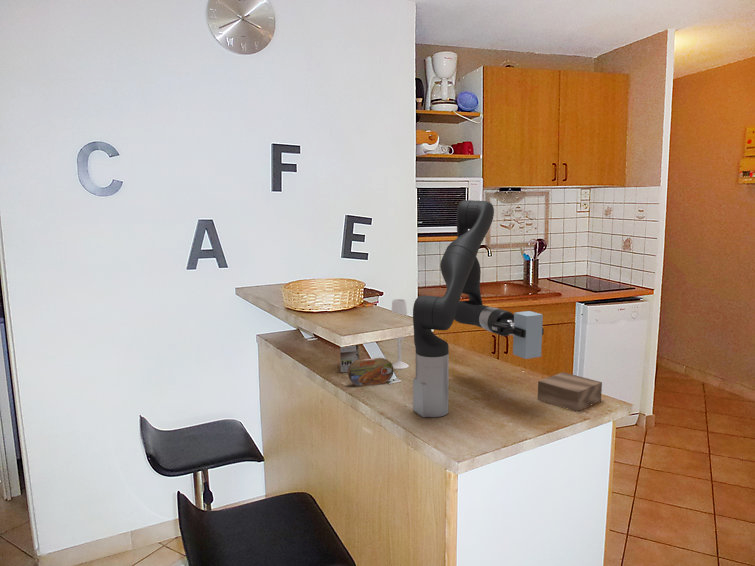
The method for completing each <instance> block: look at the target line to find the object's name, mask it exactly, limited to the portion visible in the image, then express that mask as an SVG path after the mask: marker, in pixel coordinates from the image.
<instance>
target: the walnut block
mask: <svg viewBox="0 0 755 566" xmlns="http://www.w3.org/2000/svg"><path fill="white" fill-rule="evenodd" d="M602 388H603V382H601V381H599V380H595V379H590V378H588V377H583V376H579V375H574V374H571V373H569V372H568V373H567V372H563V371H562V372H559V373H557V374H555V375H551V376H548V377H546V378H543V379H540V380H538V383H537V401H541V402H545V403H548V404H550V403H551V405H553V404H554V406H558V407H560V406H561V407H560V408H563V407H564V409H566V408H568V409H567V410H570V409H571V411H573V410H574V412H576V411H578V412H580V411H582V410H584V409H586V408H588V406H589V407H591V406H592V405H591V404H593V405H595V404H597V403H599V402H601V401H602V393H603V392H602V391H603V389H602ZM596 402H597V403H596ZM594 403H595V404H594ZM590 405H591V406H590ZM585 407H586V408H585ZM583 408H584V409H583ZM581 409H582V410H581ZM579 410H580V411H579Z"/></svg>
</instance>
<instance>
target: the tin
mask: <svg viewBox="0 0 755 566" xmlns="http://www.w3.org/2000/svg"><path fill="white" fill-rule="evenodd" d="M392 364H393V363H391V361H390V360H389V359H386V358H384V357H373V358H365V359H359V360H357V361H354V362H353V363H352V364H351V365H350V366H349V368H348V372H347V376H348V379H349V381H350V383H352V384H353V385H354V386H357V387H365V386H374V385H383V384H386V383H388V382H389V381H390V380H391V379H392V377H393V375H394V368H393V366H392Z"/></svg>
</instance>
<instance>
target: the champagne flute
mask: <svg viewBox="0 0 755 566" xmlns="http://www.w3.org/2000/svg"><path fill="white" fill-rule="evenodd" d="M391 311H392V313H393V312H394V314H395V312H396V314H397V313H398V314H402V315H406V316H407V317H408V311H407V301H406V299H403V298H398V299H397V298H395V299H392V301H391ZM404 338H405V337H401V338H395V340H397V361H394V362H393V363H391V364H392V366H393V369H396V370H399V369H401V370H403V369H407V368H409V366H410V365H409V364H407V363H406V362H404V361H403V360H402V340H403V339H404Z"/></svg>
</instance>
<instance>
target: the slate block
mask: <svg viewBox="0 0 755 566" xmlns="http://www.w3.org/2000/svg"><path fill="white" fill-rule="evenodd" d="M513 314H514V326H516V327H518V328H521V329H524V330H526V337H525V338H522V337H519V336H516V335H515V336H512V337H513V338H512V342H513V343H512V355H514V356H516V357H519V358H521V359H524V360H528V359H535V358H541V357H542V344H543V335H542V327H543V318H544V315H543V314H542V313H538V312H536V311H531V310H526V311H525V310H524V311H518V312H514V313H513Z"/></svg>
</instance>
